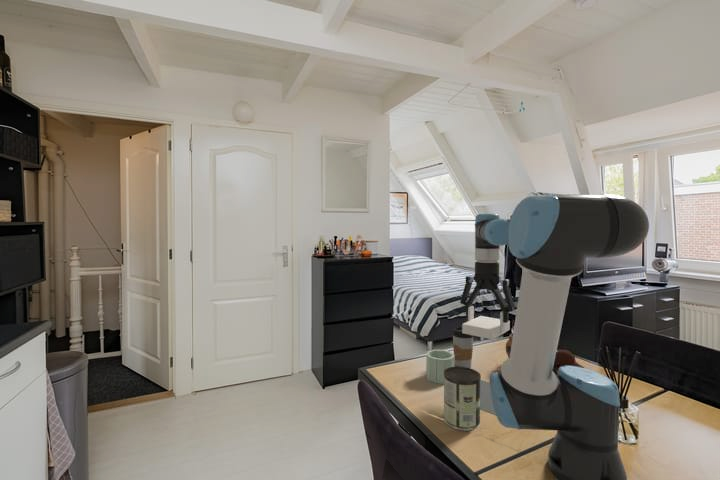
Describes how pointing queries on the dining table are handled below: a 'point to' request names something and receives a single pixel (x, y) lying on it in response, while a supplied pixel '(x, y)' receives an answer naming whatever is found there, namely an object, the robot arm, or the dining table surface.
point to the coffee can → (462, 398)
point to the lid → (484, 327)
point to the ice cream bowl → (564, 360)
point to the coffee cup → (462, 348)
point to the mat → (486, 398)
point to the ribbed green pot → (438, 364)
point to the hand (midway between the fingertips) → (486, 328)
